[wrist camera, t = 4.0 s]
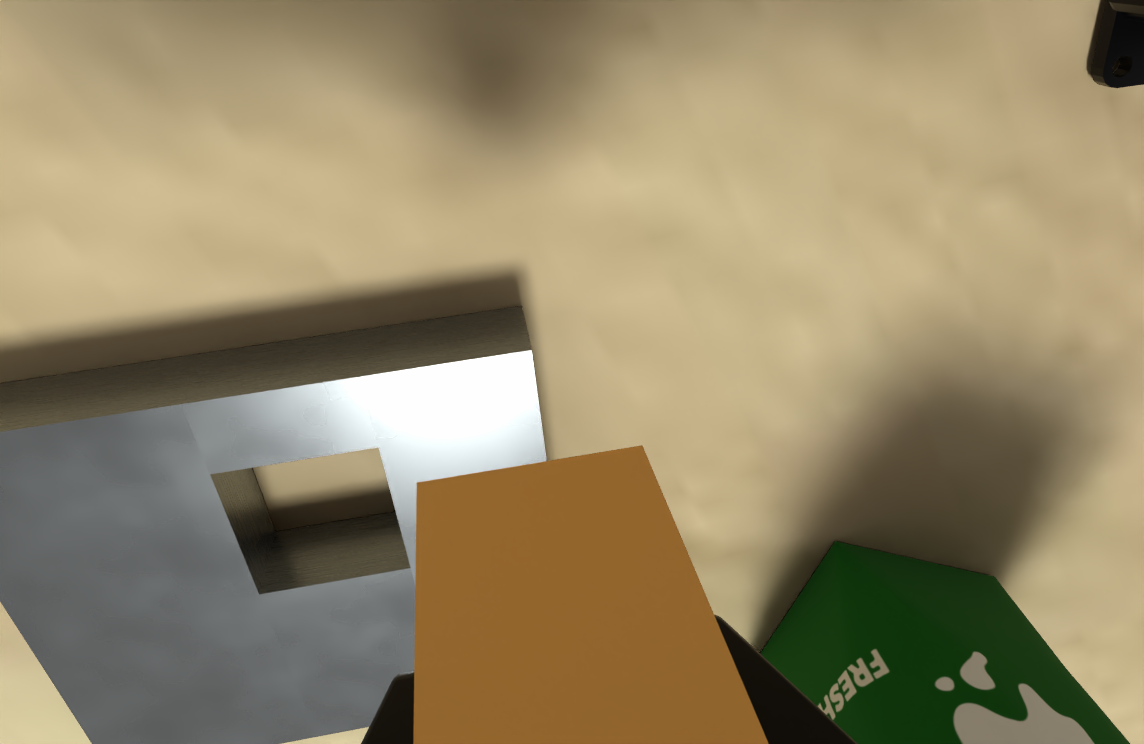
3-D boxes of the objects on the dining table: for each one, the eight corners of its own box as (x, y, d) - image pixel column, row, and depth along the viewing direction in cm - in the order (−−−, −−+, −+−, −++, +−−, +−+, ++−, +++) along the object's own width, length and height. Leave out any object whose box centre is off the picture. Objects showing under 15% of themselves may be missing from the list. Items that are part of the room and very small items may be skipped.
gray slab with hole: (521, 305, 21) (531, 350, 18) (566, 625, 27) (577, 686, 24) (-40, 389, 19) (-100, 447, 17) (139, 703, 25) (112, 775, 23)
